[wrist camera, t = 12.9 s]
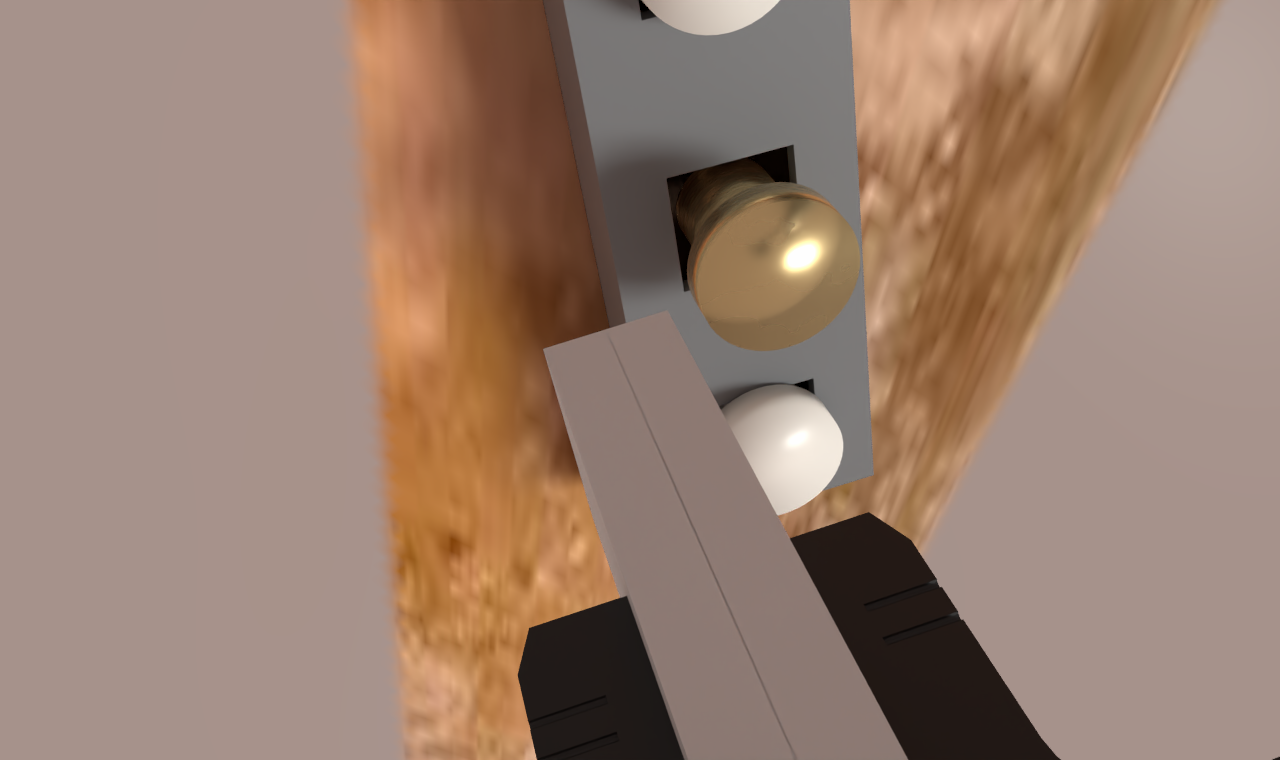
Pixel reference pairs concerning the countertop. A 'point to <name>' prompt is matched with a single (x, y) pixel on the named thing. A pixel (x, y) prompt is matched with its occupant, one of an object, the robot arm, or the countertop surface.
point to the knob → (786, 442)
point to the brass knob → (764, 255)
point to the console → (707, 136)
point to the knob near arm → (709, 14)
